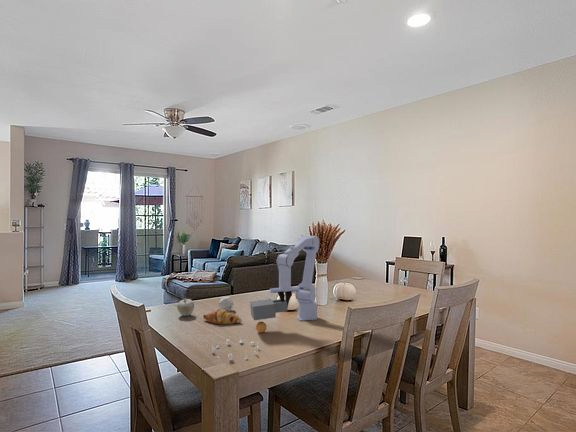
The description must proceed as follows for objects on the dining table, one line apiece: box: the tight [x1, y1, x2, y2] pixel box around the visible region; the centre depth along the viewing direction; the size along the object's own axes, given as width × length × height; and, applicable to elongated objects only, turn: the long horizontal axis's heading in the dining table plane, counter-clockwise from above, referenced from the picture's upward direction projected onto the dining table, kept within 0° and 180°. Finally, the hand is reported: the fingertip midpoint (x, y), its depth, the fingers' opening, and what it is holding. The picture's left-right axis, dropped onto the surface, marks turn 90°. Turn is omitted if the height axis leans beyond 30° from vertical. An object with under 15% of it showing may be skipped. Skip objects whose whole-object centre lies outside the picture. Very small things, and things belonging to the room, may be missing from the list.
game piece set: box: [210, 337, 260, 362], centre depth 140 cm, size 19×20×4 cm
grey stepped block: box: [249, 298, 288, 321], centre depth 166 cm, size 16×10×6 cm, turn 104°
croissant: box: [202, 308, 243, 325], centre depth 179 cm, size 21×10×8 cm, turn 77°
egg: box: [255, 321, 268, 334], centre depth 162 cm, size 5×5×5 cm
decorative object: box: [177, 297, 195, 317], centre depth 189 cm, size 9×9×10 cm
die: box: [217, 296, 235, 312], centre depth 199 cm, size 8×9×10 cm
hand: (284, 307), depth 168 cm, fingers closed on grey stepped block
